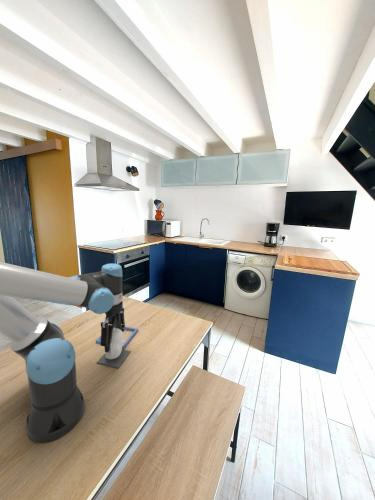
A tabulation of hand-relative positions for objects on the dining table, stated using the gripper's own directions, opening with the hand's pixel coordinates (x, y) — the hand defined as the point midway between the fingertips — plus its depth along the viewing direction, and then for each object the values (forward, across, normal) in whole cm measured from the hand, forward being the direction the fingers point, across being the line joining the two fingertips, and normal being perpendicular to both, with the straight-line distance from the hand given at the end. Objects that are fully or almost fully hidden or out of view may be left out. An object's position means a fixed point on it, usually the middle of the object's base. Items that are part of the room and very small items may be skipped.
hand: (114, 350), depth 89 cm
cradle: (+3, +13, +6) cm, 15 cm away
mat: (+3, 0, 0) cm, 3 cm away
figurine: (+2, 0, 0) cm, 2 cm away
